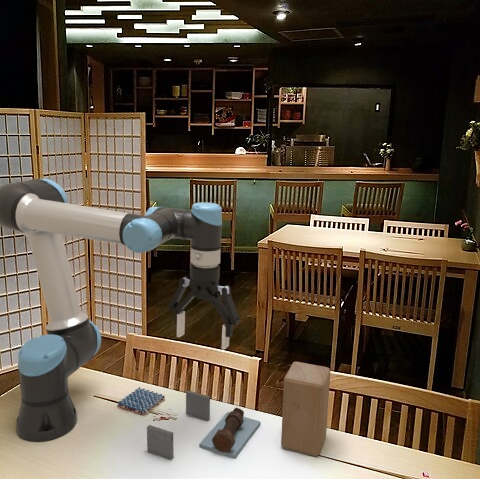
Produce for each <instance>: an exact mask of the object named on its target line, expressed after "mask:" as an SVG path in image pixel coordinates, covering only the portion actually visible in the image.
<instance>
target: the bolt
mask: <svg viewBox="0 0 480 479" xmlns="http://www.w3.org/2000/svg"><path fill="white" fill-rule="evenodd" d="M244 414H245V412H244V410H243V409H241V408H239V407H235V408H233V410H231V411H229V414H228V416H227V417H226V419H225V422H226V424H225V426H224V428H223V429H222V430H221V429H219V430H218V431H217V432H216V434H215V435H214V437H213V438H212V443H213V445H214V447H215V448H216V449H217V450H218V451H220V452H229V451H230V450H231V448H232V447H233V445H234V444H235V440H234V438H233V436H234V434H235V432H236V430H238V429H239V428H240V427H241V425H242V424H243V422H244V420H243V417H245V416H244Z"/></svg>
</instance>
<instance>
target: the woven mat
mask: <svg viewBox="0 0 480 479" xmlns="http://www.w3.org/2000/svg"><path fill="white" fill-rule="evenodd" d="M164 401H166V397H165V395H163V394H162V393H160V394H159V393H158V392H154V391H152V390H151V391H150V389H146V388H141V387H139V386H138V388H136V389H134V391H131V393H129V394H127V395H125V396H124V397H123V398H121V400H119V401H118V403H117V406H116V407H117V408H118V409H121V410H125V411H127V412H131V413H134V414H136V415H140V416H142V417H147V415H149V414H150V413H152V411H153V410H155V408H156V407H158V405H161V404H163V402H164Z"/></svg>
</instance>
